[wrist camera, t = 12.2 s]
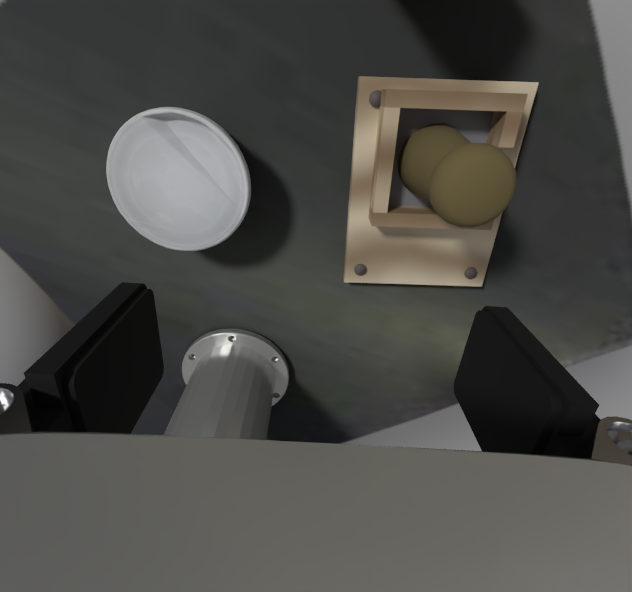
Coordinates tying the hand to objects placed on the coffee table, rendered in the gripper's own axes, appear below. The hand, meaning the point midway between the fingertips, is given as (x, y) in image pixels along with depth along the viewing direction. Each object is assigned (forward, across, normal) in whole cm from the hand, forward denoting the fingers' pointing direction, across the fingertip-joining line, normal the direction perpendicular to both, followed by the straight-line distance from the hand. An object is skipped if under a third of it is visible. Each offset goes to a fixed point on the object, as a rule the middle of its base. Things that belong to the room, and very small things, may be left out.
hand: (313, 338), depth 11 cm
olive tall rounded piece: (+25, -10, -2) cm, 27 cm away
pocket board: (+26, -10, 0) cm, 28 cm away
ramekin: (+26, +11, 0) cm, 29 cm away
